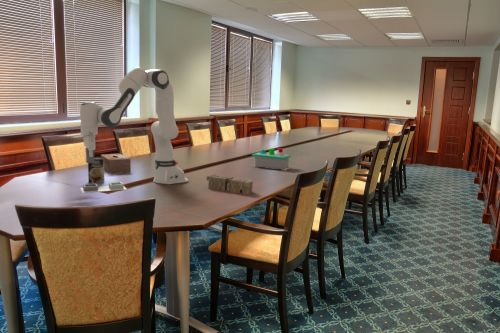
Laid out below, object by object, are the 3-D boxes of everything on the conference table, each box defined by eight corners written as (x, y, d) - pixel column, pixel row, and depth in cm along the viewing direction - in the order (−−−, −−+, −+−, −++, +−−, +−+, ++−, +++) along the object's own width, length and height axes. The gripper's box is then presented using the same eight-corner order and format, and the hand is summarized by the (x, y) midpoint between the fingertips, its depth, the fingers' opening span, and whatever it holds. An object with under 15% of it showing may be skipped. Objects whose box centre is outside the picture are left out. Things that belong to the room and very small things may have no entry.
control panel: (258, 144, 343) (292, 148, 331) (257, 164, 346) (291, 168, 334) (251, 146, 329) (286, 150, 317) (250, 167, 332) (285, 171, 320)
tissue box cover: (130, 172, 294) (130, 158, 292) (110, 174, 286) (109, 160, 285) (120, 166, 315) (120, 153, 314) (101, 167, 308) (100, 154, 306)
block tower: (253, 193, 249) (212, 185, 262) (254, 180, 247) (213, 172, 260) (247, 196, 242) (206, 188, 255) (248, 182, 241) (206, 174, 253)
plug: (93, 161, 234) (92, 145, 233) (94, 162, 231) (93, 146, 229) (86, 162, 232) (85, 146, 231) (86, 163, 229) (86, 147, 227)
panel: (122, 187, 249) (122, 180, 248) (127, 191, 238) (127, 185, 238) (80, 190, 237) (79, 183, 237) (82, 195, 227) (82, 188, 226)
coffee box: (88, 185, 250) (87, 159, 248) (89, 183, 256) (88, 157, 254) (104, 185, 253) (103, 159, 250) (104, 182, 259) (104, 157, 256)
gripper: (98, 133, 221) (98, 158, 224) (92, 129, 239) (93, 153, 241) (85, 133, 218) (86, 159, 221) (81, 129, 236) (82, 153, 238)
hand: (90, 156), depth 231 cm, fingers closed on plug, 4 cm apart
